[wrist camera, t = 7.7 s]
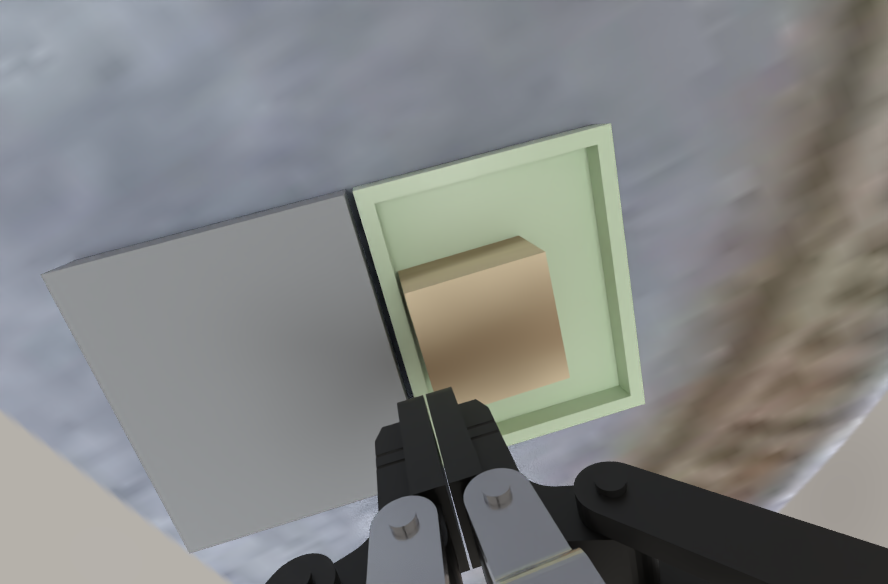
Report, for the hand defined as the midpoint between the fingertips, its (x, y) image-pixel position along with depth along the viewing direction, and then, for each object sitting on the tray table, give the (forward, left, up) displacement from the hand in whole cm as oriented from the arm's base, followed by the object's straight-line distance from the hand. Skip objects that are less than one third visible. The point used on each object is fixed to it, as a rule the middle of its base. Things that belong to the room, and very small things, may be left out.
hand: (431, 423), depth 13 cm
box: (0, +4, -8) cm, 9 cm away
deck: (0, -6, -8) cm, 10 cm away
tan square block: (0, +3, -7) cm, 8 cm away
